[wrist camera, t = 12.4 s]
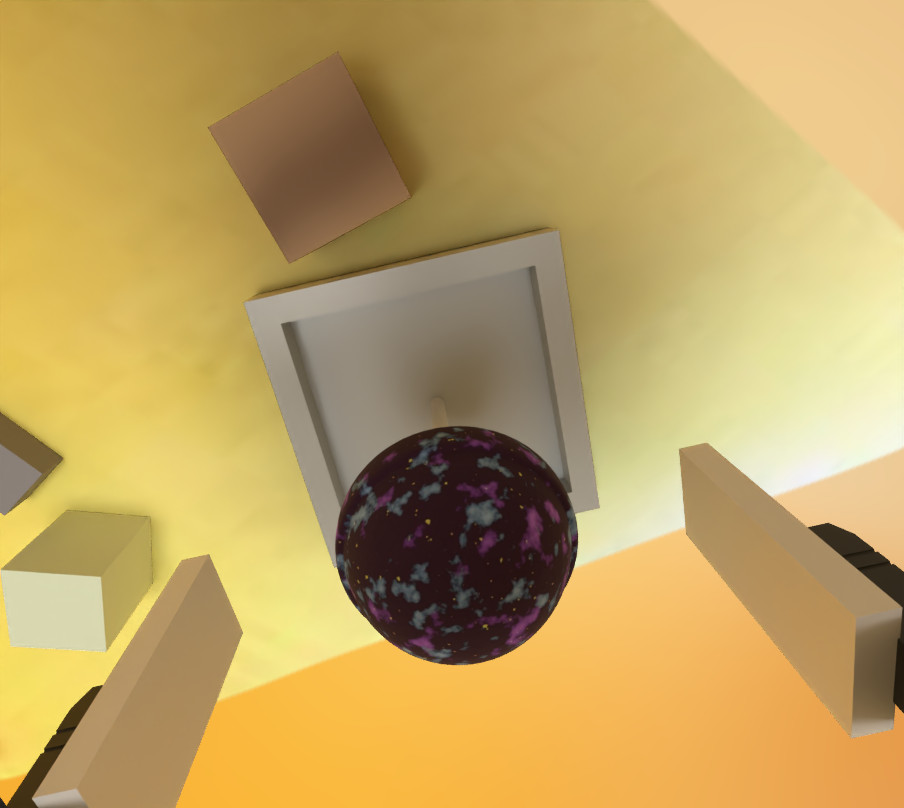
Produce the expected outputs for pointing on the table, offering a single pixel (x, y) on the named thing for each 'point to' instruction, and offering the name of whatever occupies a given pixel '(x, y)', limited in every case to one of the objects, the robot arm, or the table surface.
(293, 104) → the walnut cube
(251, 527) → the table surface
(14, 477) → the rubber eraser
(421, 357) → the tray
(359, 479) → the lollipop
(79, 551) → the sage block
